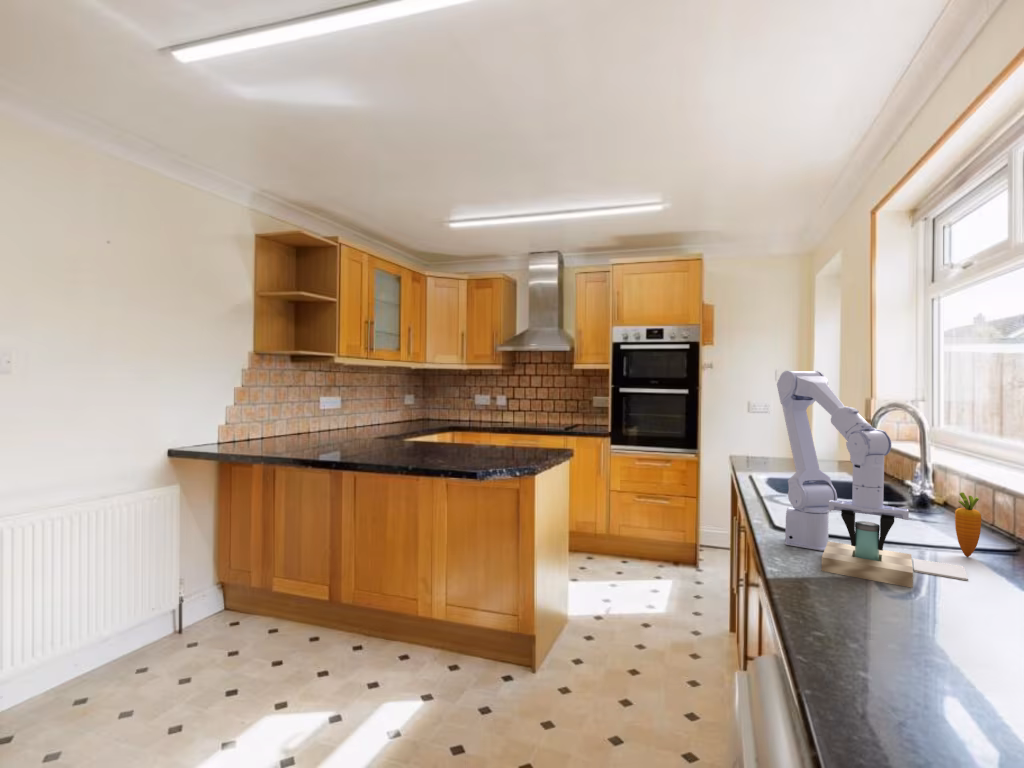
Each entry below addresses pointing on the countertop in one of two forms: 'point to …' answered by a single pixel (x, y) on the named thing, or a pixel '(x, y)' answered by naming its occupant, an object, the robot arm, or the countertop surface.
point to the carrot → (967, 525)
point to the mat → (939, 569)
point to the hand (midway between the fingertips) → (866, 547)
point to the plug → (867, 540)
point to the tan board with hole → (868, 565)
